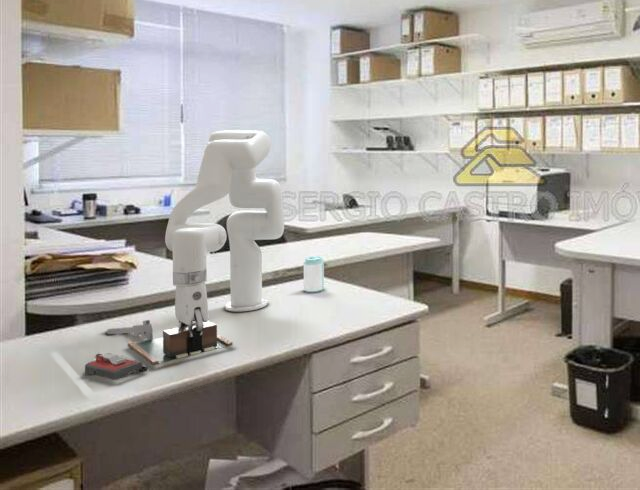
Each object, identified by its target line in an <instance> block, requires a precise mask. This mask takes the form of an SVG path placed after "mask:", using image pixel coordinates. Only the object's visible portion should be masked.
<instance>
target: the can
mask: <svg viewBox="0 0 640 490" xmlns="http://www.w3.org/2000/svg"><path fill="white" fill-rule="evenodd" d="M324 289H325V261H324V260H323V257H321V256H309V257H305V260H304V262H303V291H305V292H306V293H319V292H321V291H323V290H324Z"/></svg>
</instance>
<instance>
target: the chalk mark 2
mask: <svg viewBox="0 0 640 490" xmlns="http://www.w3.org/2000/svg"><path fill="white" fill-rule="evenodd" d="M197 353H199V354H202V353H201V350H199V351H195V352H191V353H189V354H190V355H191V356H194V355H193V354H195V355H198V354H197Z"/></svg>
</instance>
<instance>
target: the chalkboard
mask: <svg viewBox="0 0 640 490" xmlns="http://www.w3.org/2000/svg"><path fill="white" fill-rule="evenodd" d="M127 346H128V347H130V349H132V350H133V351H135V352H136V353H137V354H139V355H140V356H141V357H142V358H144V359H145V360H146V361H147V362H149V363H150V364H151V365H153V366H155V365H159V364H163V363H167V362H170V361H176V360H180V358H176V356H175V357H171V358H170V357H168V356H167V355H166V354H164V353H163V336H162V337H158V338H153V339H152V340H145V341H139V342H135V341H129V342H127ZM231 346H233V342H232V341H230V340H228V339H226V338H225V337H223V336H221V335H219V334H218V333H217V346H216V347H215V349H213V350H209V351H203V350H201V353H197V354H193V355H190V354H189V353H188V356H186V357H185V358H187V357H190V356H194V355H199V354H202V353H206V352H211V351H215V350H218V349H222V348H227V347H231ZM182 358H184V357H182ZM182 358H181V359H182Z"/></svg>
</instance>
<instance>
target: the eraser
mask: <svg viewBox="0 0 640 490" xmlns="http://www.w3.org/2000/svg"><path fill="white" fill-rule="evenodd" d="M203 323H204V327H203V329H202V350H203V349H204V348H208V347H212V346H213V347H216V346H217V334H218V324H216V323H214V322H212V321H211V320H208V321H207V322H203ZM194 327H196V326H192V331H193V328H194ZM162 337H163V353H164V354H166V355H167V356H168V357H170V358H171V357H175V356H176V355H179V354H184V353H187V354H188V341H187V337H189V331H188V325H187V326H183V327H179V326H178V327H173V328H168V329H163V330H162Z"/></svg>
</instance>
